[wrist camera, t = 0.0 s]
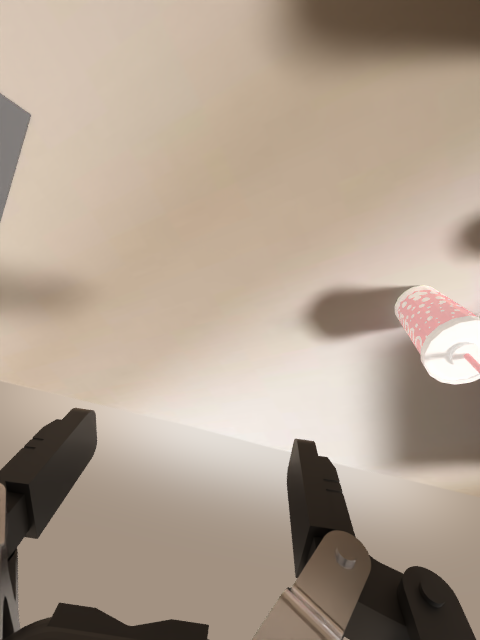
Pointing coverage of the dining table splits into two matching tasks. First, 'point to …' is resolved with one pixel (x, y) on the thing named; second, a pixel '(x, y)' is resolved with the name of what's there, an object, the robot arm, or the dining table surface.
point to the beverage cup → (441, 334)
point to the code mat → (10, 143)
